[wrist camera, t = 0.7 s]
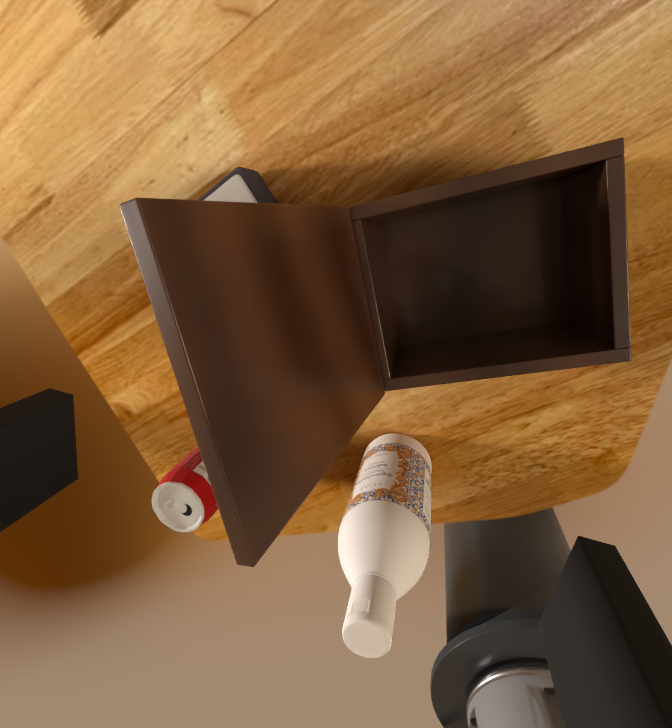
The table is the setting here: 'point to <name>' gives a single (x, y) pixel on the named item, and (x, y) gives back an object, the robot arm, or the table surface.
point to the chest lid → (260, 346)
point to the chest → (500, 271)
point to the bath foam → (384, 538)
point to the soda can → (185, 495)
